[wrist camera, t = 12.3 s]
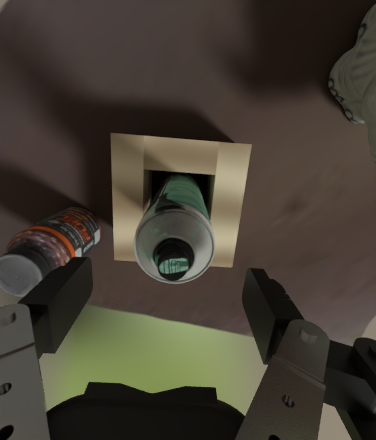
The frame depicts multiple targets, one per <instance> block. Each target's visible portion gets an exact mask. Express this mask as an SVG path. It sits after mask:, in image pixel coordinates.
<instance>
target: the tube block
mask: <svg viewBox="0 0 376 440" xmlns="http://www.w3.org/2000/svg"><path fill="white" fill-rule="evenodd" d="M251 146H252V145H250V144H238V143H226V142H214V141H202V140H190V139H178V138H166V137H154V136H141V135H129V134H117V133H111V164H112V198H113V231H114V260H123V261H137V260H136V258H135V254H134V238H135V233H136V229H137V227H138V225H139V223H140V221H141V219H142V218H143V216H144V214H145V212H146V211H147V209H148V207H149V205H150V204H151V202H152V170H159V171H172V172H185V173H198V174H208V182H207V191H206V201H205V207H206V210H207V213H208V216H209V219H210V222H211V225H212V228H213V232H214V235H215V253H214V257H213V260H212V262H211V264H210V265H209V266H219V267H232V265H233V259H234V253H235V246H236V240H237V234H238V227H239V221H240V215H241V209H242V202H243V196H244V190H245V183H246V177H247V171H248V164H249V158H250V152H251Z"/></svg>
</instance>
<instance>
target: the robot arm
mask: <svg viewBox="0 0 376 440" xmlns="http://www.w3.org/2000/svg"><path fill="white" fill-rule="evenodd" d="M92 288H93V279H92V265H91V259H90V258H89V257H72V258H71V259H70V260H69V261H68V262H67V263H66V264H65V265H64V266H59V267H58V268H56V269H54V270H52V271H50V272H49V273H48V274H47V275H46V276H45V277H44V279H42V280H41V281H40V282H39V283H38V285H36V286H35V287H34V288H33V289H32V290H30V291H29V292H28V293H27V294H26V295H25V296H24V297H23V298H22V299H21V300H20V301H19V302H18V303H17V304H10V305H6V306H3V307H0V440H317V439H318V432H319V425H320V419H321V413H322V407H323V403H326V404H328V405H331V406H334V407H335V408H336V410H337V412H338V414H339V415H340V418H341V420H342V421H343V423H344V425H345V427H346V429H347V431H348V433H349V435H350V437H351V439H352V440H376V340H373V339H370V338H357V339H356V340H355V342H354V344H353V347H352V346H348V345H345V344H342V343H338V342H335V341H332V340H329V338H328V336H327V334H326V333H325V332H324V331H323V330H322V329H321V328H320V327H318V326H317V325H315V324H313V323H311V322H309V321H306V320H305V319H304V318H303V316H302V315H301V313H300V312H299V311H298V309H297V308H296V306H295V305H294V303H293V302H292V300H291V299H290V297H289V296H288V294H287V293H286V291H285V290H284V288H283V287H282V285H280V284H279V283H278V282H277V281H275V280H274V279H269V277H268V275H267V274H266V272H265V270H264V269H257V268H248V269H247V272H246V277H245V282H244V288H243V293H242V303H243V307H244V310H245V313H246V315H247V318H248V321H249V324H250V327H251V330H252V333H253V335H254V338H255V341H256V344H257V347H258V350H259V352H260V355H261V358H262V361H263V364H264V365H268V367H267V369H266V371H265V374H264V376H263V378H262V380H261V382H260V385H259V387H258V389H257V392H256V394H255V396H254V398H253V400H252V403H251V405H250V407H249V409H248V411H247V414H246V416H244V415H243V414H242V413H241V412H239V411H238V410H237V409H235V408H234V407H232V406H231V405H229V404H227V403H225V402H223V401H220V400H217V394H216V388H212V387H190V386H184V387H180V388H175V389H171V390H167V391H162V392H158V393H148V392H145V391H141V390H138V389H136V388H133V387H130V386H127V385H124V384H121V383H101V382H89V383H88V385H87V388H86V391H85V393H84V394H82V395H78V396H76V397H73V398H70V399H68V400H66V401H64V402H62V403H60V404H58V405H56V406H55V407H53V408H51V409H50V410H49V411H47V406H46V400H45V395H44V389H43V383H42V377H41V371H40V365H39V359H40V357H41V356H42V354H43V353H55V352H56V351H57V349H58V348H59V346H60V344H61V343H62V341H63V340H64V338H65V336H66V335H67V333H68V331H69V330H70V328H71V326H72V325H73V323H74V322H75V320H76V318H77V317H78V315H79V314H80V312H81V310H82V309H83V307H84V306H85V304H86V302H87V301H88V299H89V297H90V295H91V293H92Z"/></svg>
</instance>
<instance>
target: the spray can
mask: <svg viewBox="0 0 376 440" xmlns="http://www.w3.org/2000/svg"><path fill="white" fill-rule="evenodd" d="M214 253H215V235H214V232H213V228H212V225H211V222H210V219H209V216H208V213H207V210H206V207H205V204H204V201H203V197H202V194H201V191H200V188H199V185H198V183H197V182H196V180H195V179H194V178H193V177H191V176H190V175H188V174H185V173H175V174H172V175H170V176H169V177H167V178H166V179H165V180H164V182H163V183H162V185H161V186H160V188H159V190H158V192H157V193H156V195H155V197H154V199H153V200H152V202H151V204H150V205H149V207H148V209H147V211H146V212H145V214H144V216H143V218H142V219H141V221H140V223H139V225H138V227H137V229H136V233H135V238H134V254H135V258H136V260H137V262H138V264H139V265H140V267H141V268H142V269H143V270H144V271H145V272H146V273H147V274H148V275H149V276H151V277H152V278H154V279H156V280H159V281H161V282H166V283H174V284H177V283H184V282H188V281H191V280H193V279H195V278H197V277H199V276H200V275H201V274H203V273H204V272H205V271H206V269H207V268H208V267H209V265H210V264H211V262H212V260H213V257H214Z"/></svg>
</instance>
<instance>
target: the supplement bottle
mask: <svg viewBox="0 0 376 440" xmlns="http://www.w3.org/2000/svg"><path fill="white" fill-rule="evenodd" d="M101 232H102V230H101V225H100V223H99V221H98V219H97V218H96V217H95V215H93V214H92V213H91V212H90V211H88V210H86V209H83V208H79V207H70V208H67V209H64V210H62V211H60V212H58V213H56V214H54V215H52V216H50V217H48V218H46V219H44V220H42V221H40V222H38V223H36V224H35V225H33V226H31V227H29V228H27V229H25V230H23V231H21V232H19V233H18V234H16V235H15V236H14V237H13V238H12V239H11V240H10V241H9V242H8V244H7V247H6V249H5V254H4V255H2V256H1V257H0V288H1V289H2V290H3V291H5V292H7V293H8V294H12V295H14V296H20V297H24V296H25V295H26V294H27V293H28V292H29V291H30V290H32V289H33V288H34V287H35V286H36V285H38V283H39V282H40V281H41V280H42V279H44V277H45V276H46V275H47V274H48V273H49V272H50V271H52V270H54V269H56V268H58V267H59V266H64V265H65V264H66V263H67V262H68V261H69V260H70V259H71V258H72V257H86V256H87V255H88V254H89V253H90V252H91V251H92V250H93V249H94V247H95V246H96V245H97V244H98V242H99V241H100V238H101Z"/></svg>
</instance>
